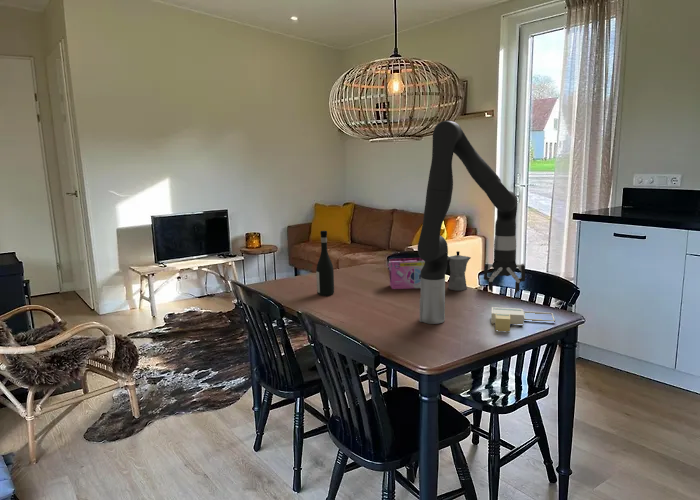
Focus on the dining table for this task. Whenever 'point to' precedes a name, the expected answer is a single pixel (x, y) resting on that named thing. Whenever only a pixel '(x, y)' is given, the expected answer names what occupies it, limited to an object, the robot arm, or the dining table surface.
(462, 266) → the coffeepot
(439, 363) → the dining table surface
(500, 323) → the beige block
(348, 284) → the dining table surface
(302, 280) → the dining table surface
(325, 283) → the wine bottle
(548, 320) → the tray
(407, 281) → the gum box
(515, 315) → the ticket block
